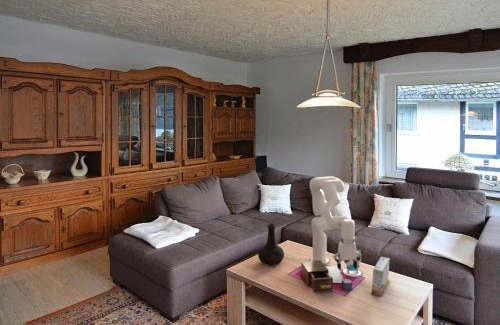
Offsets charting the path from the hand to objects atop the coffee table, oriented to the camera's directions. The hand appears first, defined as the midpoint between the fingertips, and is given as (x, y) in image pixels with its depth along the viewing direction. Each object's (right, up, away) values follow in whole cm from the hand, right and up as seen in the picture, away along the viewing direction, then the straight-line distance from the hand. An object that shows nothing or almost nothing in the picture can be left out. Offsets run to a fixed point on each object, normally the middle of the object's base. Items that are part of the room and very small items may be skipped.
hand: (347, 268), depth 204 cm
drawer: (-15, -12, +1) cm, 19 cm away
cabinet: (-17, -11, +12) cm, 24 cm away
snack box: (+20, -12, +2) cm, 24 cm away
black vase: (-42, -8, +38) cm, 58 cm away
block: (0, -12, +2) cm, 12 cm away
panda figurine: (+9, -9, +21) cm, 25 cm away
